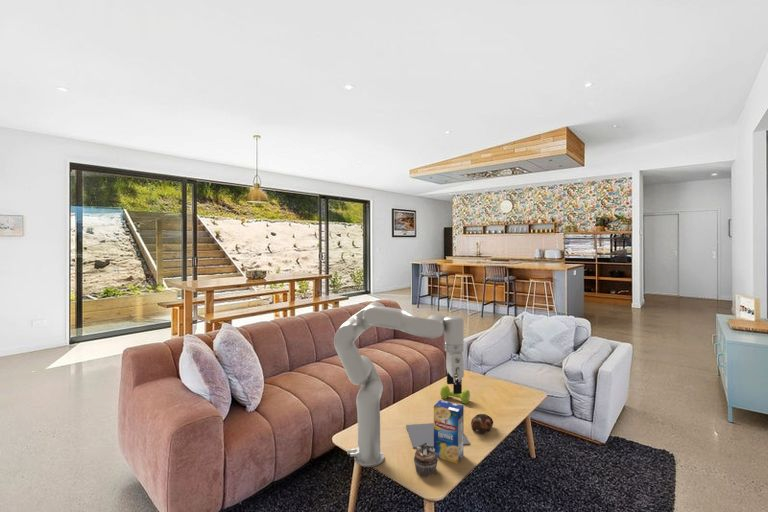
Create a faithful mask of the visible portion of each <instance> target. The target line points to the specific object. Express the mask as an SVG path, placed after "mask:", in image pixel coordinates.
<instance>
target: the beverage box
mask: <svg viewBox="0 0 768 512" xmlns="http://www.w3.org/2000/svg"><path fill="white" fill-rule="evenodd" d="M464 410H465V406H464V405H463V404H458V403H455V402H451V401H448V400H447V401H446V400H444V399H439V400H438V401H437V402H436V403H435V404H434V405H433V423H434V447H433V448H434V449H435V451H434V452H435V454H436V456H437V458H438V457H439V459H442V460H445V461H448V462H452V463H453V464H454V463H455V464H456V465H457V464H460V463H459V462H461V459H462V458H463V457H464V445H463V436H464V434H465V433H464V430H465V429H464V422H465V419H464V417H465V416H464Z"/></svg>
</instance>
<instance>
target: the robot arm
mask: <svg viewBox="0 0 768 512" xmlns="http://www.w3.org/2000/svg"><path fill="white" fill-rule="evenodd" d="M371 327H379V328H385V329H386V328H387V329H390V330H391V329H392V330H397V331H401V332H402V333H405V334H409V335H412V336H415V337H420V338H426V339H427V338H428V339H438V338H440V337H442V335H443V334H444V352H446V356H445V357H446V359H445V365H446V385H452V386H453V389H452V391H453V393H454V394H461V393H462V391H463V387H462V386H463V385H462V384H463V381H462V380H463V379H462V378H464V376H465V370H464V369H465V367H464V357H463V356H464V355H463V353H464V351H465V350H464V349H465V348H464V346H465V345H464V318H462V316H459V315H449V316H448V315H441V314H435V313H434V314H430V315H429V316H428V317H427V318H426V317H425V318H424V317H420V316H417V315H416V316H415V315H412V314H410V313H409V312H407V311H406V310H405V309H402V308H397V307H389V306H384V304H382V303H380V302H378V301H374V302H371V303H369V304H368V305H366V306H365V307H364V308H363V309H361V310H360V311H358V312H356V313H355V314H354V315H352V316H350V317H349V318H348V319H347V320H345V322H343V323H342V324H341V325H340V326H339V328H338V329H337V330H336V332H335V334H334V337H333V346H334V349H335V351H336V354H337V355H338V358H339V360H340V362H341V364H342V366H343V369H344V371H345V374H346V375H347V378H348V379H349V382H350V383H351V384H353V385H355V386H360V388H359V390H358V392H357V394H356V399H355V400H356V401H355V402H356V412H357V413H356V414H357V445H356V447H354V448H348V449H346V450H347V451H346V452H347V453H346V454H347V455H350V457H352V458H353V457H354V458H353V459H354V461H355V463H356V464H357V465H358V466H361V467H365V468H372V467H376V466H378V465H381V464H382V463H383V462H384V459H385V455H384V454H385V453H384V452H383V451H382V450H381V411H380V402H381V398H382V395H383V392H384V391H383V390H384V385H383V382H382V380H381V378H380V376H379V373H378V371H377V369H376V367H375V365H374V363H373V361H372V359H370V358H369V357H368V356H366V355H362V354H360V353H361V352H360V351H359V348H358V347H357V346H356V345H355V342H356V340H357V339H358V338H359V337H360V336H361V335H362V334H363V333H365V332H366V331H367V330H369V328H371ZM371 466H372V467H371Z"/></svg>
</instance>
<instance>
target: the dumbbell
mask: <svg viewBox="0 0 768 512" xmlns="http://www.w3.org/2000/svg"><path fill="white" fill-rule="evenodd" d="M439 394H440V397H441V400H446V399H447V398H448V397H454V398H458V399H460V400H461V403H463V404H465V405H467V404H469V401H470V398H471V393H470V390H469V389H466V388H465V389H462V393H461V394H454V393H453V390H451V389H450V387H449V385H448V384H443V385H442V386H441V388H440V393H439Z"/></svg>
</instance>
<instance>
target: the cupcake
mask: <svg viewBox="0 0 768 512" xmlns="http://www.w3.org/2000/svg"><path fill="white" fill-rule="evenodd" d="M434 451H435V449H434V447H430V446H429V445H428V444H427V443H424V444H422V445H419V446H418V447H417V449H415V452H414V457H413V461H414V462H413V463H414V466H415V473H416V475H418V476H420V477H424V478H431V477H433V476H435V474H436V471H437V465H438V461H439V459H438V457H437V456H436V454H435V452H434Z"/></svg>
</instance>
